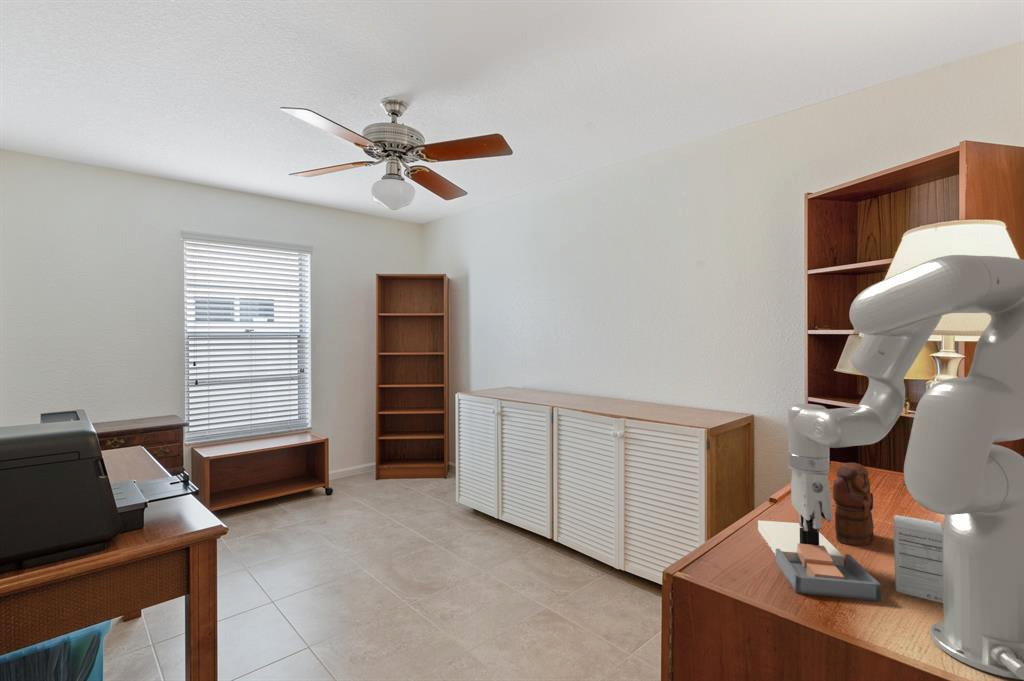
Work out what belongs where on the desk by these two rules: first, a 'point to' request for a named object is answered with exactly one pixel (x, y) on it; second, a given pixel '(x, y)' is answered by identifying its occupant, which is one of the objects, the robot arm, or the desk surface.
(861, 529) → the wooden figurine
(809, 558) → the tile back
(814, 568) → the tile front
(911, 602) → the desk surface
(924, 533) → the supplement box
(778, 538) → the board
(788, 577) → the tray
